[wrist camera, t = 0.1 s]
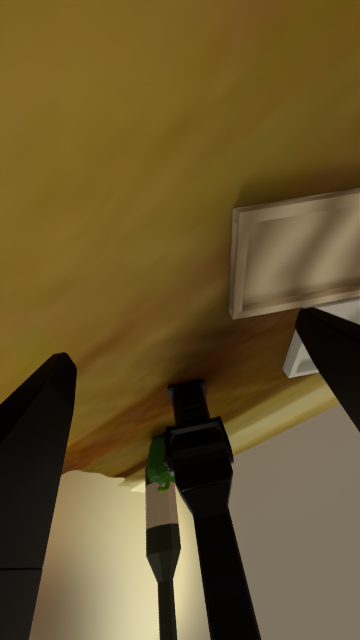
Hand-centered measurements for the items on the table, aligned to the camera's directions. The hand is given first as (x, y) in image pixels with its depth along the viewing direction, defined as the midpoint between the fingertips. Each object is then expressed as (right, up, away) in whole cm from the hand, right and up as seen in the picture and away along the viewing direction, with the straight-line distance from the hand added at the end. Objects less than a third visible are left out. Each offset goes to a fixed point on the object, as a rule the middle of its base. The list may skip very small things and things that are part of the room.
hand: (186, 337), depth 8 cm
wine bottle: (-7, -43, +53) cm, 68 cm away
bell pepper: (-4, -27, +41) cm, 49 cm away
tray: (+14, +8, +15) cm, 22 cm away
